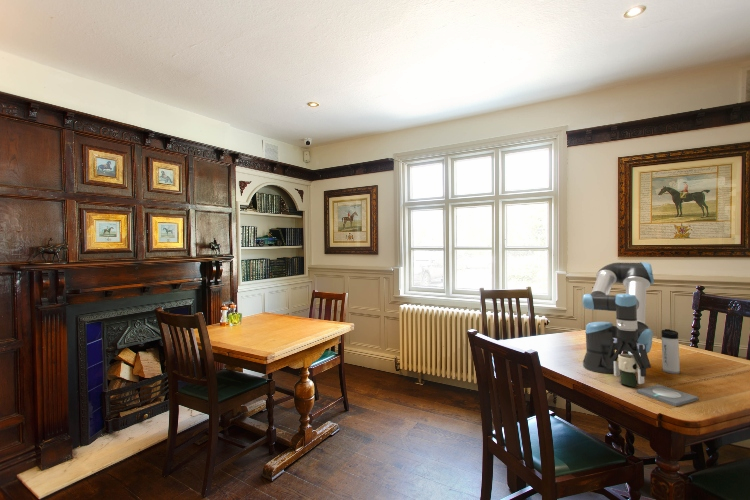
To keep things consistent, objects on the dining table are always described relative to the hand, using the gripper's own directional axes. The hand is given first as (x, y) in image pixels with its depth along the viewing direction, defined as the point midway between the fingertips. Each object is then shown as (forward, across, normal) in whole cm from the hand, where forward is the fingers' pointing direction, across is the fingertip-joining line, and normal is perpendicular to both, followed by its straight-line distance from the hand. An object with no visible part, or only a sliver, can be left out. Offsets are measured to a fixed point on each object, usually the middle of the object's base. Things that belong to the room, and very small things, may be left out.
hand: (628, 379), depth 151 cm
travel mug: (+3, -3, +34) cm, 34 cm away
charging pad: (+3, +14, +2) cm, 14 cm away
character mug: (+3, 0, 0) cm, 3 cm away
